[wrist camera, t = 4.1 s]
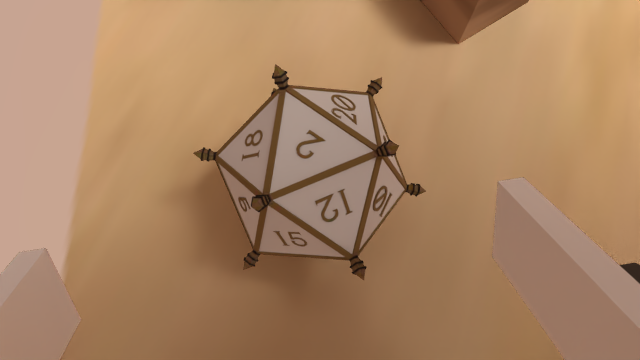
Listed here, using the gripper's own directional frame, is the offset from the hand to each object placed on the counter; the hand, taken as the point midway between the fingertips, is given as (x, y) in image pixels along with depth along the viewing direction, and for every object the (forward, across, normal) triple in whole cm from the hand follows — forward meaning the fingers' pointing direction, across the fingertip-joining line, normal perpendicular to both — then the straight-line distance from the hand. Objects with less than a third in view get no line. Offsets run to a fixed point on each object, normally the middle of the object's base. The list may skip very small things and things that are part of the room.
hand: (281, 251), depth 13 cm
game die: (+9, +1, -4) cm, 10 cm away
